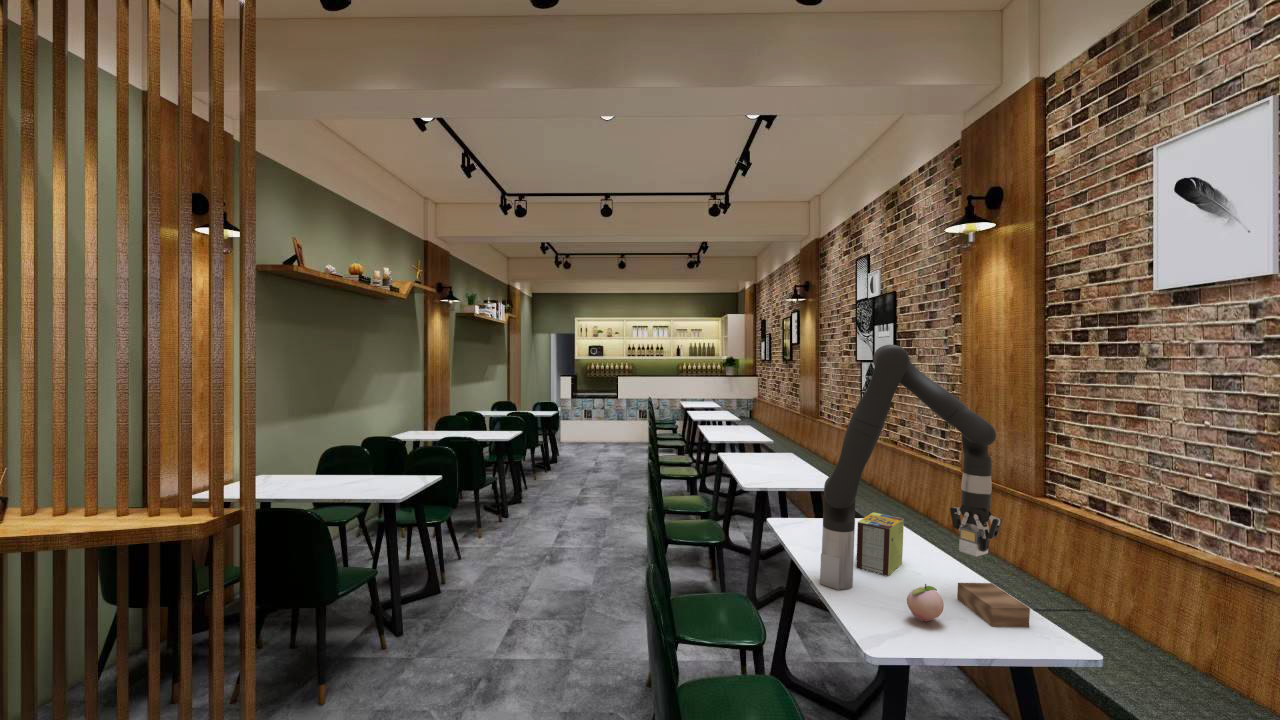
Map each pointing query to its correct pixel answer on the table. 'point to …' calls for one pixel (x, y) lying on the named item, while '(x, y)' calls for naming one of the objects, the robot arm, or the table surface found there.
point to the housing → (970, 540)
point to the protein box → (880, 543)
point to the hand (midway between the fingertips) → (973, 547)
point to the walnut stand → (993, 605)
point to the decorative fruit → (925, 603)
